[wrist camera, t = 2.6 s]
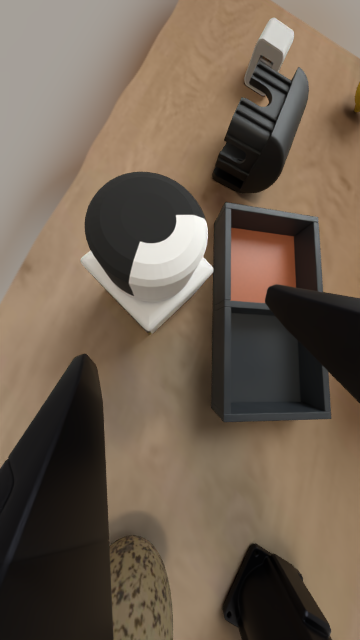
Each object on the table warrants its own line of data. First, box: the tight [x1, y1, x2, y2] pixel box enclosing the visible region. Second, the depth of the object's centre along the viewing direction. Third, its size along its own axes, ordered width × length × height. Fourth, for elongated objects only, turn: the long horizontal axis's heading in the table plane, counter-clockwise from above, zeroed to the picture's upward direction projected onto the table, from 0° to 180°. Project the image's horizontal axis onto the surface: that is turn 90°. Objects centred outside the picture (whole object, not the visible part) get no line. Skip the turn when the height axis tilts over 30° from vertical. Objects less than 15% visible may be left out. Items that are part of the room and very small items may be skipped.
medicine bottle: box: [81, 172, 213, 334], centre depth 14 cm, size 7×7×12 cm
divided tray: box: [211, 202, 331, 422], centre depth 20 cm, size 22×11×4 cm, turn 178°
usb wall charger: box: [244, 18, 294, 96], centre depth 24 cm, size 4×7×4 cm, turn 155°
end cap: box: [212, 61, 309, 193], centre depth 20 cm, size 10×7×7 cm
